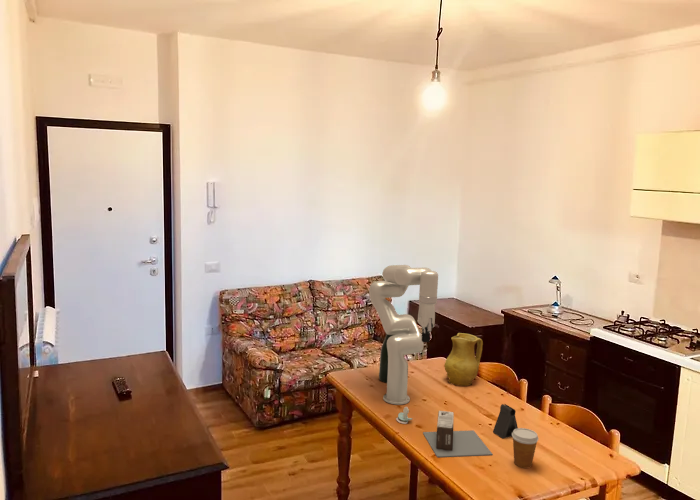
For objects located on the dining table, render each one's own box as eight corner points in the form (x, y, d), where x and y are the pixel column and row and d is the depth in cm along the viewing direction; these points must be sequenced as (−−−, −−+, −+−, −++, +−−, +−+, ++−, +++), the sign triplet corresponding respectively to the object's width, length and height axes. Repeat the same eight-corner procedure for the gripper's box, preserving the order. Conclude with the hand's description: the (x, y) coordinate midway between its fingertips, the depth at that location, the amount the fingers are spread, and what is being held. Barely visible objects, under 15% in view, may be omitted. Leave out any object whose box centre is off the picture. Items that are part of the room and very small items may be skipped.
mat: (422, 433, 229) (422, 432, 229) (473, 431, 232) (473, 430, 232) (437, 457, 209) (437, 456, 209) (492, 455, 213) (492, 453, 213)
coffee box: (452, 432, 229) (452, 451, 214) (437, 430, 231) (435, 449, 215) (454, 411, 228) (453, 429, 212) (438, 410, 229) (436, 427, 214)
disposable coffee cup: (506, 456, 212) (509, 426, 210) (531, 457, 212) (534, 428, 210) (513, 469, 203) (515, 438, 201) (539, 470, 202) (542, 439, 201)
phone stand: (509, 429, 236) (511, 402, 234) (519, 435, 230) (521, 407, 229) (492, 432, 232) (494, 405, 231) (502, 438, 227) (504, 410, 225)
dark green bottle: (377, 376, 293) (380, 315, 289) (396, 376, 294) (399, 315, 290) (380, 383, 283) (383, 320, 279) (400, 383, 284) (403, 320, 280)
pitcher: (442, 373, 299) (447, 329, 295) (477, 378, 297) (483, 333, 293) (443, 386, 283) (448, 339, 278) (480, 391, 280) (486, 344, 276)
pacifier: (402, 426, 236) (414, 423, 239) (403, 412, 235) (414, 409, 238) (392, 419, 242) (404, 416, 245) (393, 405, 241) (404, 403, 244)
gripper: (414, 296, 242) (412, 336, 244) (424, 303, 227) (421, 347, 230) (431, 296, 243) (429, 336, 246) (441, 303, 229) (439, 346, 231)
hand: (425, 341), depth 238 cm, fingers closed
